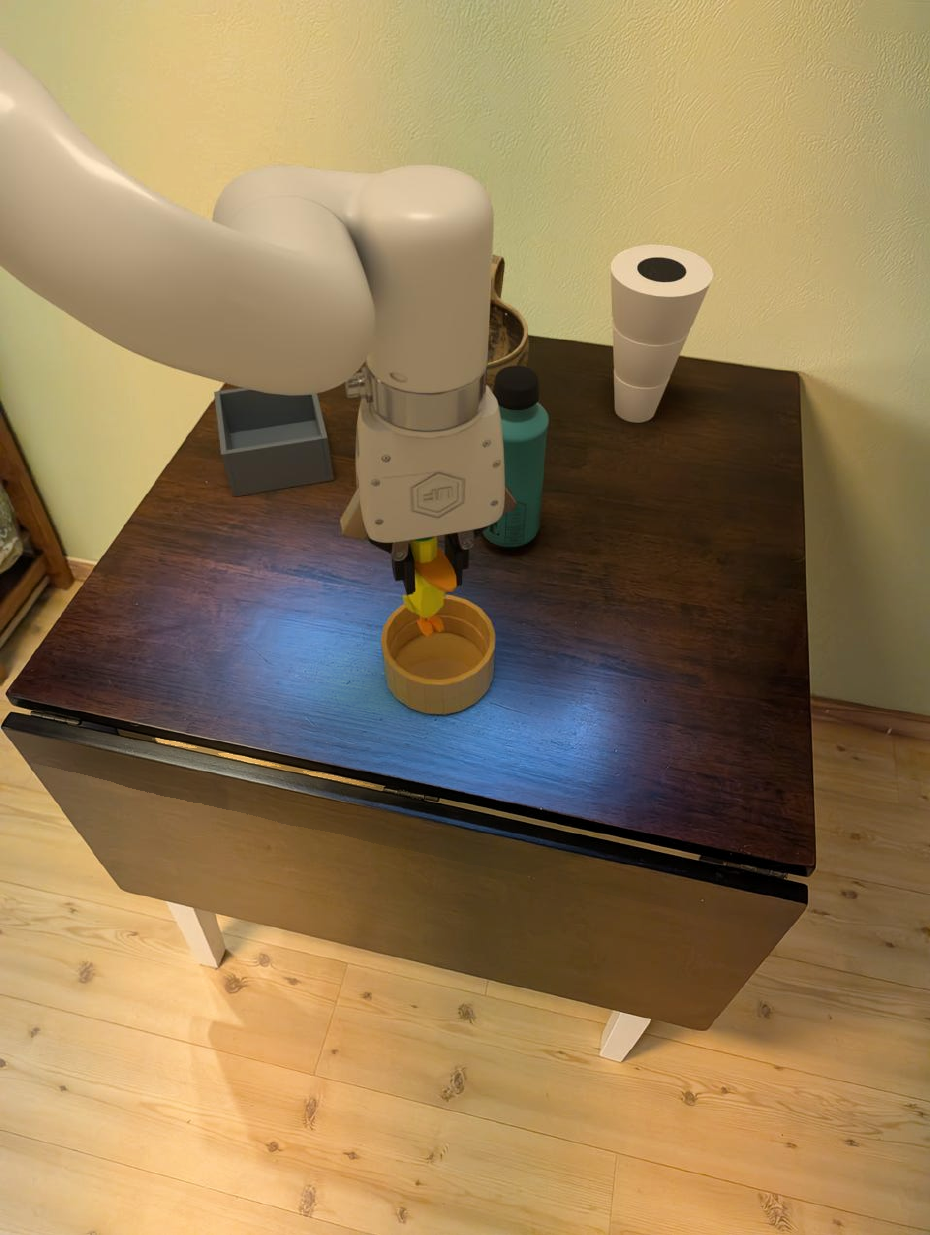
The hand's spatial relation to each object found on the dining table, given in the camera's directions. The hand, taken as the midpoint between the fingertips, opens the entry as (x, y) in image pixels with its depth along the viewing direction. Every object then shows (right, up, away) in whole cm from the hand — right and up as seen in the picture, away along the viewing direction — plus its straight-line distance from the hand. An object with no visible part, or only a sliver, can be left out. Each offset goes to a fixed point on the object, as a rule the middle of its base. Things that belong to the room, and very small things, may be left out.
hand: (430, 576), depth 68 cm
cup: (+23, +22, +35) cm, 47 cm away
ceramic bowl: (+2, +22, +35) cm, 42 cm away
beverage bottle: (+7, +5, +21) cm, 23 cm away
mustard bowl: (0, -8, +10) cm, 13 cm away
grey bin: (-19, +15, +29) cm, 38 cm away
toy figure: (0, -4, +5) cm, 7 cm away
